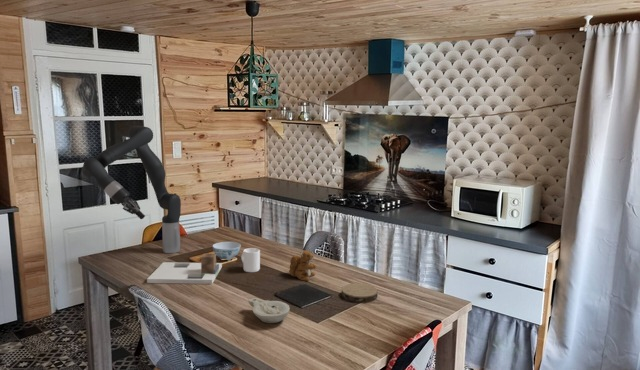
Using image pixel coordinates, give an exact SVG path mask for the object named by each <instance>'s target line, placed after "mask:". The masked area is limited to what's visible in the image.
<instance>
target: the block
mask: <svg viewBox="0 0 640 370" xmlns="http://www.w3.org/2000/svg"><path fill="white" fill-rule="evenodd" d="M200 263H201V273H213V270H214V268H215V267H216V263H217V255H216V254H215V253H203V254H202V255H201V257H200Z"/></svg>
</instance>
